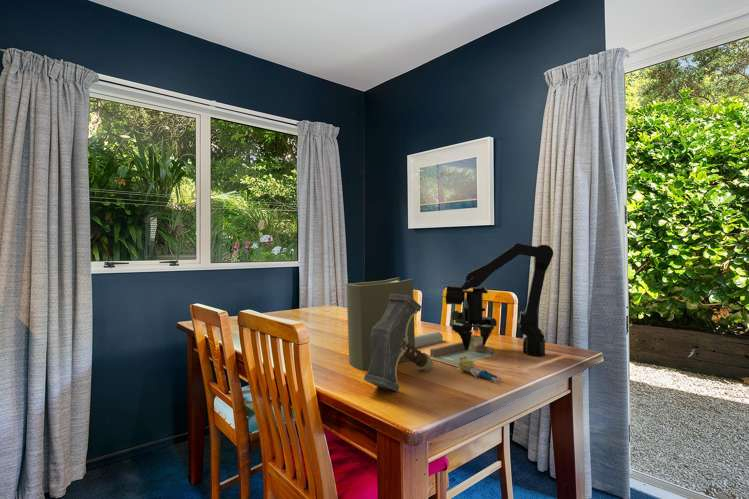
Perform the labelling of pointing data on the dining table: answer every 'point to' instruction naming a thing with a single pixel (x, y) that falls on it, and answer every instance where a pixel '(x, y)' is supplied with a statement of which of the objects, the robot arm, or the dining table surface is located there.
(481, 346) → the wooden block with peg
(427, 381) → the dining table surface
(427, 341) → the tube
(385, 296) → the book
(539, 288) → the robot arm
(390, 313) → the hammer
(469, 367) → the figurine
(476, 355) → the board
